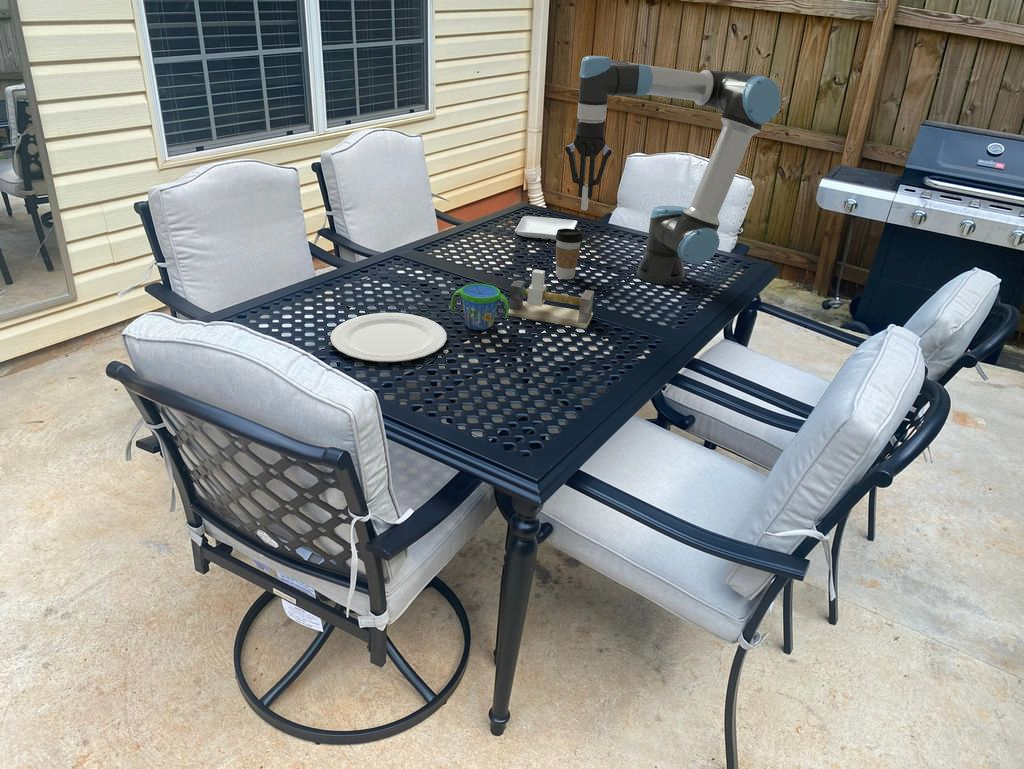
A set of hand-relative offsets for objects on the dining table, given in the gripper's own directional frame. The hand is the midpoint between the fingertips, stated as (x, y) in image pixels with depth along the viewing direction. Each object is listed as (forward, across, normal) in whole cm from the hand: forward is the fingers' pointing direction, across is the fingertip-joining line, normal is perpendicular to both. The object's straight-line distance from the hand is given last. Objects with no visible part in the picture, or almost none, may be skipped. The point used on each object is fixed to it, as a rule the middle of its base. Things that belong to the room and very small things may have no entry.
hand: (584, 208), depth 206 cm
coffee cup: (+28, +7, -19) cm, 35 cm away
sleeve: (+24, +10, +14) cm, 29 cm away
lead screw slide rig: (+27, +6, +14) cm, 31 cm away
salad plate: (+29, +23, -63) cm, 73 cm away
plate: (+26, +41, +46) cm, 67 cm away
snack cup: (+27, +22, +28) cm, 45 cm away
